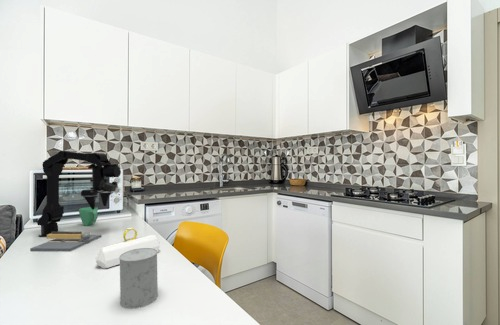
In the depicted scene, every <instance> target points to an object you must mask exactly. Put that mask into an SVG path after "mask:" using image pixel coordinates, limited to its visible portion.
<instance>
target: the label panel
mask: <svg viewBox="0 0 500 325" xmlns="http://www.w3.org/2000/svg"><path fill="white" fill-rule="evenodd" d="M100 238H102V234H90V238H88V239H82V238H81V239H50V240H48V241H46V242H44V243H41V244H38V245H35V246H33V247H31V248H29V251H30V252H72V251H75V250H76V249H79V248H81V247H83V246H84V245H87V244H89V243H91V242H93V241H95V240H98V239H100Z"/></svg>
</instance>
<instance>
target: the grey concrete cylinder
mask: <svg viewBox="0 0 500 325" xmlns="http://www.w3.org/2000/svg"><path fill="white" fill-rule="evenodd" d="M119 259H120V264H119V288H120V291H119V296H120V297H119V299H120V302H119V304H120V306H121V307H122V308H125V309H127V310H128V309H131V310H132V309H133V308H134V309H139V307H140V308H143V307H146V306H149V305H150V304H152V303H154V302H155V301H157V299H158V297H159V293H158V292H159V291H158V290H159V289H158V287H159V286H158V252H157V250H156V249H153V248H139V249H134V250H130V251H127V252H125V253H123V254H121V255H120V257H119Z"/></svg>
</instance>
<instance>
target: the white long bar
mask: <svg viewBox="0 0 500 325" xmlns="http://www.w3.org/2000/svg"><path fill="white" fill-rule="evenodd" d="M160 247H161V245H160V240H159V239H158V237H157V236H155V235H154V234H150V235H146V236H143V237H139V238H135V239H134V240H131V241H122V242H120V243H119V242H118V243H115V244H111V245H107V246H104V247H101V248H100V249H99V251H98V253H97V256H96V257H95V263H96V265H97V266H99V267H100V268H102V269H104V270H105V269H108V268H112V267H114V266H118V265H120V259H119V257H120V255H121V254H123V253H125V252H127V251H130V250H134V249H139V248H153V249H156V250H157V253H159V252H160Z"/></svg>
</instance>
